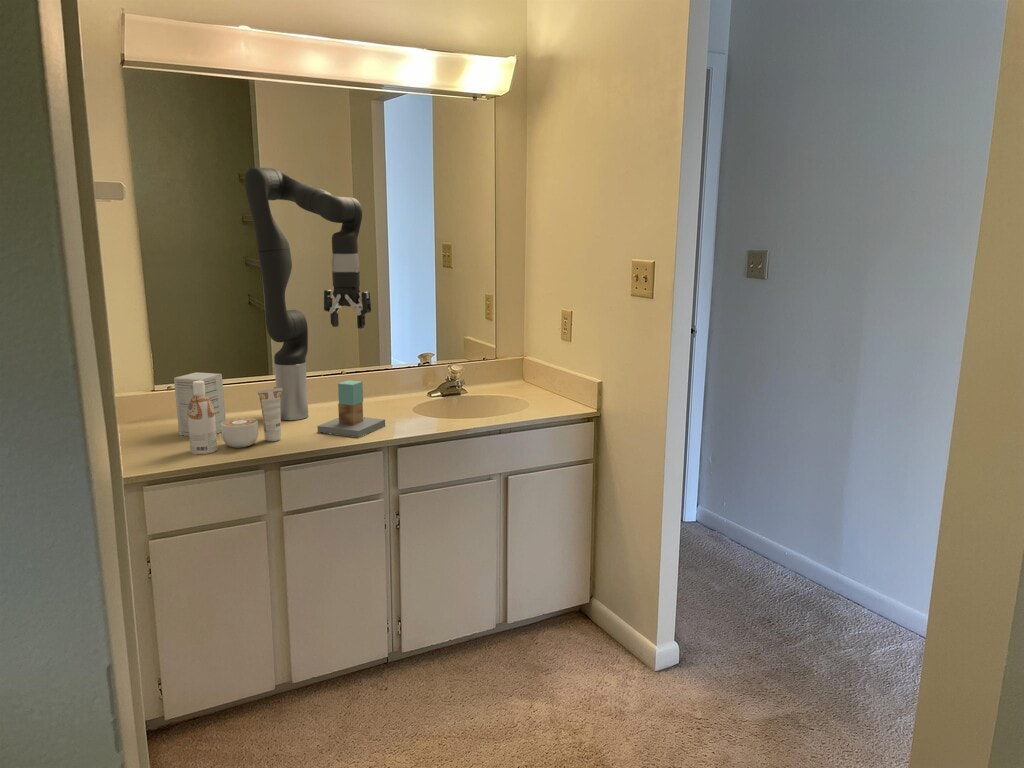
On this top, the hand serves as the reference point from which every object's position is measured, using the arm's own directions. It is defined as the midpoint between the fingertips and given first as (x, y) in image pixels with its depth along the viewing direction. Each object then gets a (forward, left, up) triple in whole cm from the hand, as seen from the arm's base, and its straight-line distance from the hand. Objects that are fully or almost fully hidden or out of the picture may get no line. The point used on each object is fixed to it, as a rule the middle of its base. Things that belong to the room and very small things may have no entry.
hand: (348, 327), depth 212 cm
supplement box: (-37, -20, -30) cm, 52 cm away
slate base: (0, 0, -30) cm, 30 cm away
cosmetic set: (-18, -26, -30) cm, 44 cm away
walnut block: (0, 0, -28) cm, 28 cm away
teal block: (0, 0, -22) cm, 22 cm away
